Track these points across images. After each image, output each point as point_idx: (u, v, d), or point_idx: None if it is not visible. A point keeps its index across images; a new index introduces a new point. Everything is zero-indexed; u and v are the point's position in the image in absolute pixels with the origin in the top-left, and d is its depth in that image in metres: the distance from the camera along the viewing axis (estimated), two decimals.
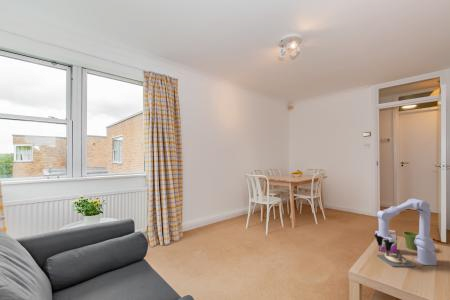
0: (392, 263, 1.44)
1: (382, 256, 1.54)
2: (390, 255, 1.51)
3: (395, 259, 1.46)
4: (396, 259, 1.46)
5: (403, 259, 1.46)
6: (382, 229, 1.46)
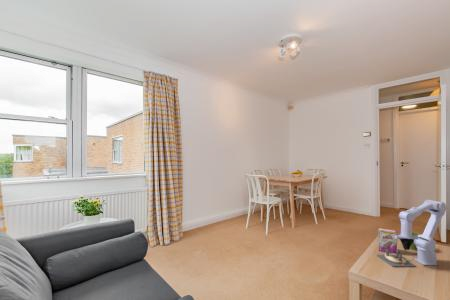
0: (392, 263, 1.44)
1: (382, 256, 1.54)
2: (390, 255, 1.51)
3: (395, 259, 1.46)
4: (396, 259, 1.46)
5: (403, 259, 1.46)
6: None
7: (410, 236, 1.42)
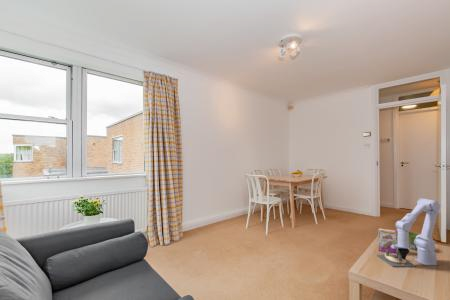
0: (392, 263, 1.44)
1: (382, 256, 1.54)
2: (390, 255, 1.51)
3: (395, 259, 1.46)
4: (396, 259, 1.46)
5: (403, 259, 1.46)
6: None
7: (407, 246, 1.42)
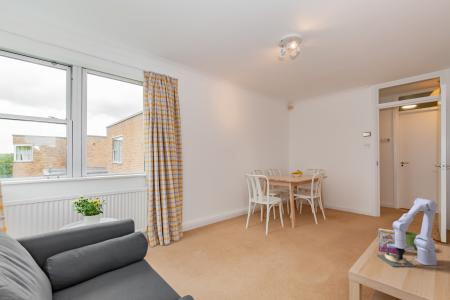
0: (392, 263, 1.44)
1: (382, 256, 1.54)
2: (391, 255, 1.52)
3: (393, 258, 1.47)
4: (394, 258, 1.46)
5: (402, 260, 1.45)
6: None
7: (402, 246, 1.42)
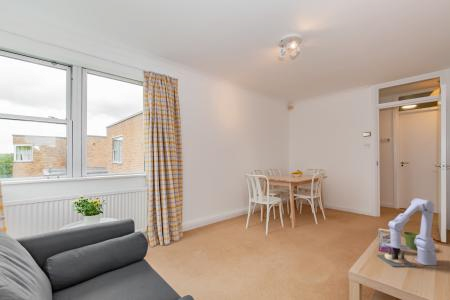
0: (392, 263, 1.44)
1: (382, 256, 1.54)
2: None
3: (389, 257, 1.49)
4: (390, 257, 1.48)
5: (399, 260, 1.44)
6: None
7: (397, 245, 1.43)
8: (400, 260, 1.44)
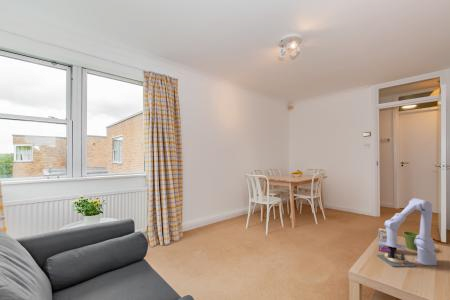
0: (392, 263, 1.44)
1: (382, 256, 1.54)
2: (396, 255, 1.51)
3: None
4: None
5: (394, 259, 1.46)
6: None
7: (393, 244, 1.44)
8: (395, 259, 1.45)
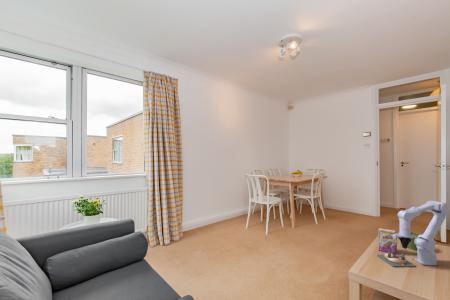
0: (392, 263, 1.44)
1: (382, 256, 1.54)
2: (396, 255, 1.51)
3: None
4: None
5: (394, 259, 1.46)
6: None
7: (408, 235, 1.44)
8: (395, 259, 1.45)
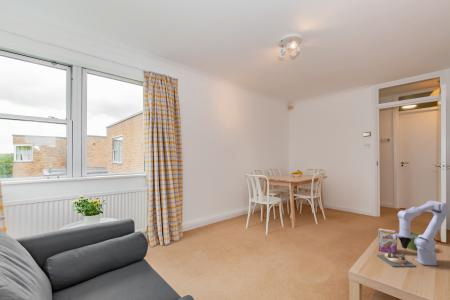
0: (392, 263, 1.44)
1: (382, 256, 1.54)
2: (396, 255, 1.51)
3: None
4: None
5: (394, 259, 1.46)
6: None
7: (408, 235, 1.44)
8: (395, 259, 1.45)
